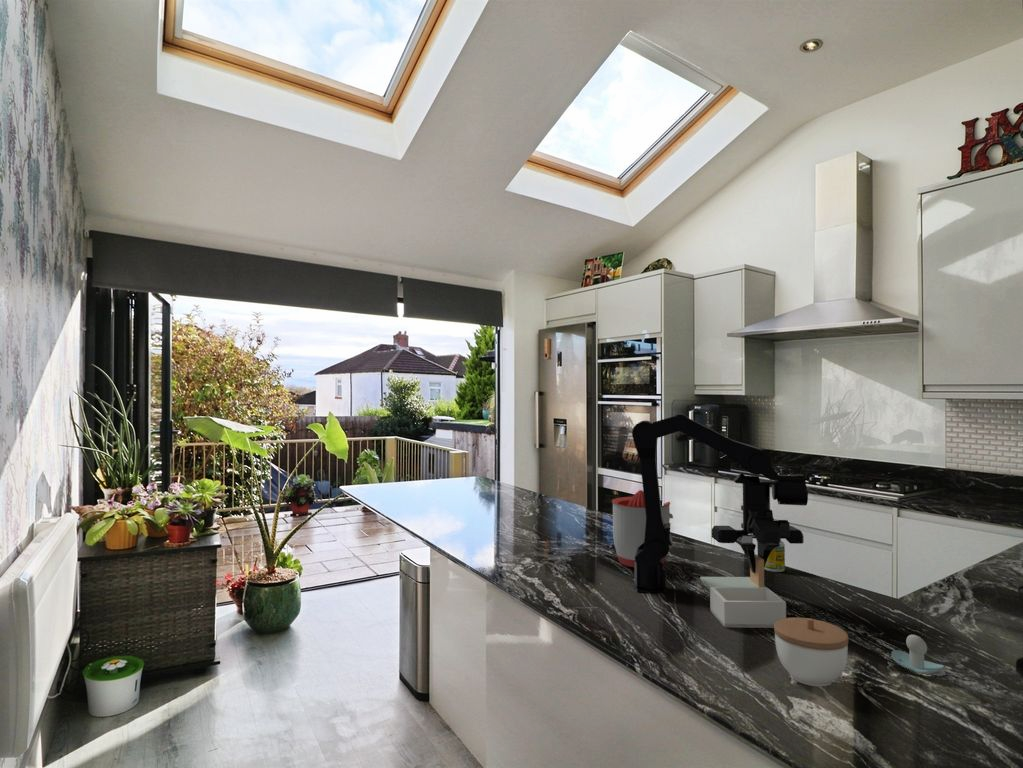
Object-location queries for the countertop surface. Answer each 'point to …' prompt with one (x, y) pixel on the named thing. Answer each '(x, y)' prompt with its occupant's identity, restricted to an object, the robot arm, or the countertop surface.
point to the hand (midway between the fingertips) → (756, 572)
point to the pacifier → (917, 658)
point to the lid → (739, 578)
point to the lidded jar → (811, 650)
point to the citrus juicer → (632, 525)
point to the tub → (746, 606)
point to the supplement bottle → (776, 559)
